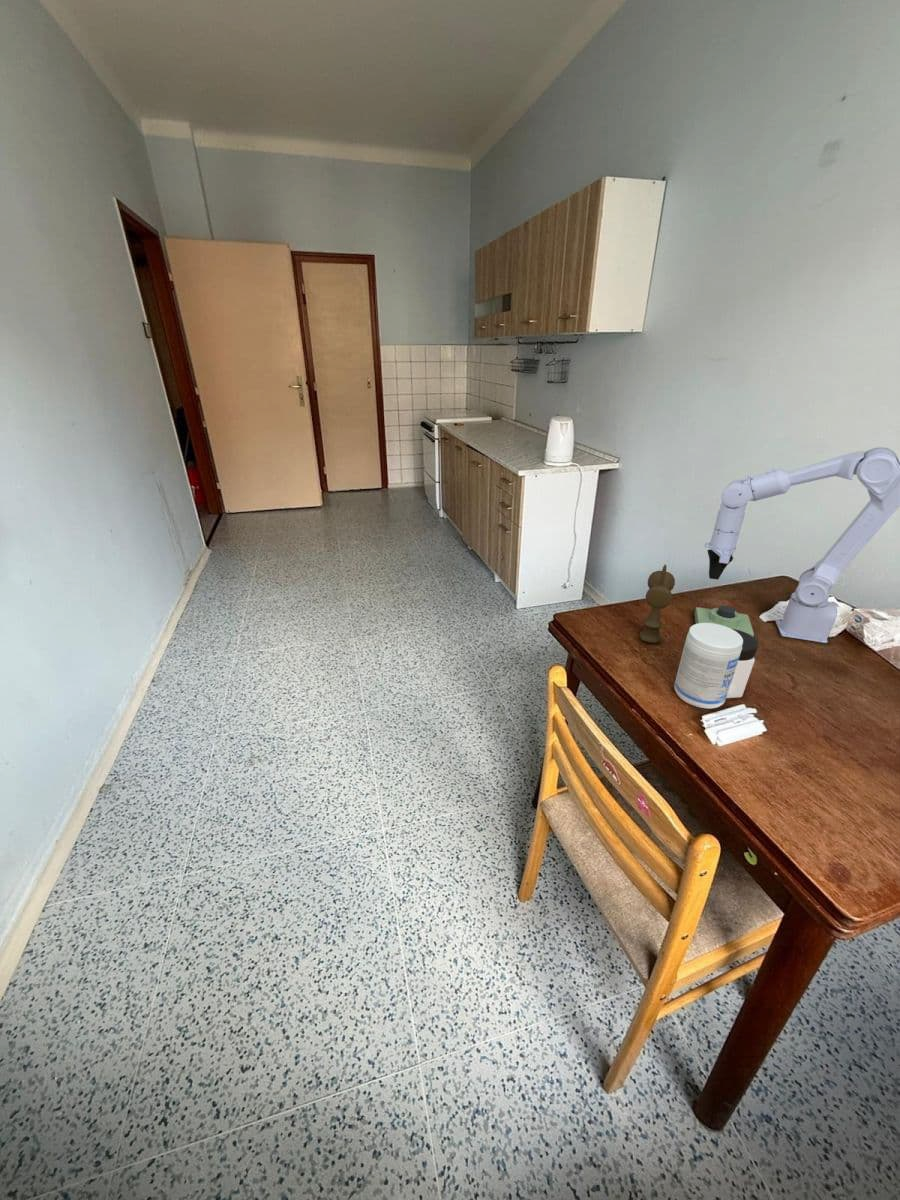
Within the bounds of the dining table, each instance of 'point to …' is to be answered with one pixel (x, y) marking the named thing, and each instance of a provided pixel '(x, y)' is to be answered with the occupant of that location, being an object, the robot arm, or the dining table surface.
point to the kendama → (657, 603)
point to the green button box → (724, 620)
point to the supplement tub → (708, 664)
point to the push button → (726, 611)
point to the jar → (743, 665)
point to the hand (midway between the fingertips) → (713, 578)
